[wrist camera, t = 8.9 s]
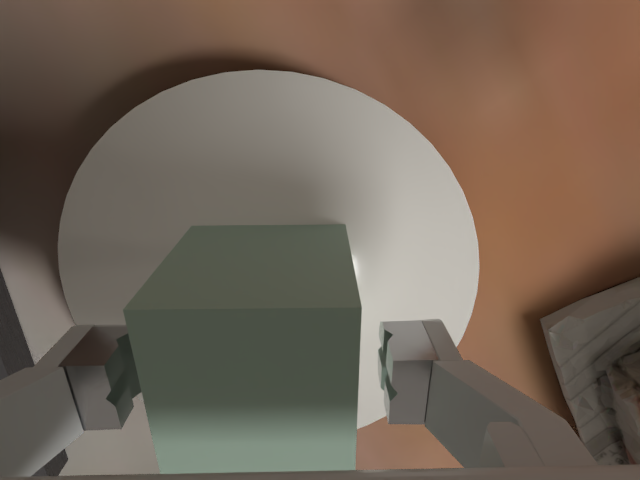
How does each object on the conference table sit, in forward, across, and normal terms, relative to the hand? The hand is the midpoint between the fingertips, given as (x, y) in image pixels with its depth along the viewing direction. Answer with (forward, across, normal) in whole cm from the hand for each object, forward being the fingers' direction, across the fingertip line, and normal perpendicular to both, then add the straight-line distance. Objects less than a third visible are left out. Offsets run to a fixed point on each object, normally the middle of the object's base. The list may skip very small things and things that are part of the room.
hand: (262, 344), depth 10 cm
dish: (+4, 0, 0) cm, 4 cm away
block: (+3, 0, 0) cm, 3 cm away
